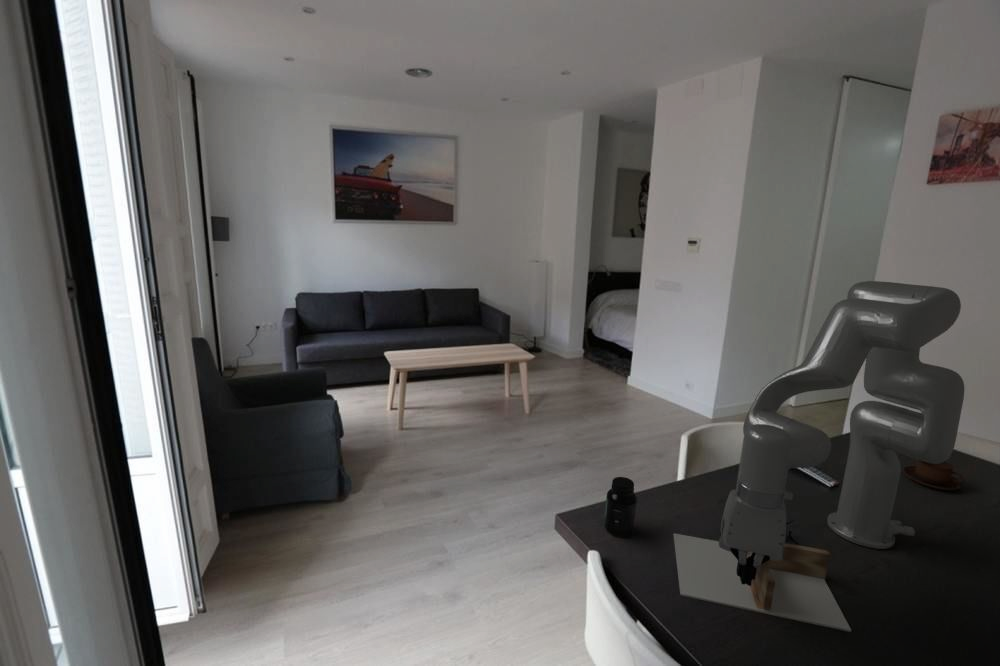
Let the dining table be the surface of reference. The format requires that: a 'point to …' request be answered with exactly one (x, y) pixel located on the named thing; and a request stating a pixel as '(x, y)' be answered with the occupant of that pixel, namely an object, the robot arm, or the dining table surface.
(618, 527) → the supplement bottle
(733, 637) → the dining table surface
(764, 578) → the gate panel
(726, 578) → the card
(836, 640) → the dining table surface
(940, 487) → the cup and saucer
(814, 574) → the fence
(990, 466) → the dining table surface
